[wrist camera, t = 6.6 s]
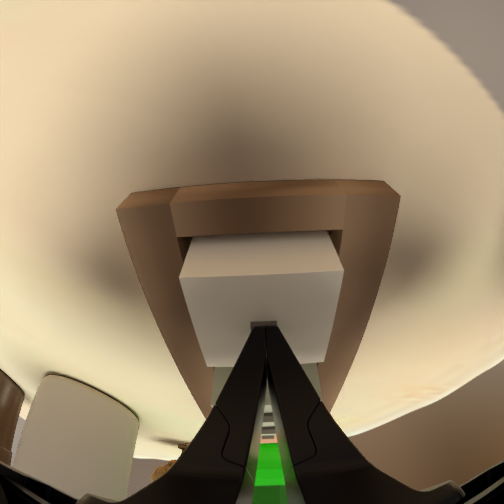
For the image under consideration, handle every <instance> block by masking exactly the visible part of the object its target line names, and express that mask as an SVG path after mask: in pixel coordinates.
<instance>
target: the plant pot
mask: <svg viewBox="0 0 504 504" xmlns="http://www.w3.org/2000/svg"><path fill="white" fill-rule="evenodd" d="M23 400H24V394H23V393H22V391H21V390H20V388H19V387H18V386H17V385H16V384H15V383H14V382H13V381H12V380H11V379H10V378H9V377H8V376H7V375H6V374H4V373H3V372H2V371H1V370H0V461H2V462H4V463H5V464H7V465H9V466H10V463H11V458H12V452H11V448H12V443H13V438H14V433H15V429H16V425H17V421H18V417H19V413H20V410H21V407H22V403H23Z"/></svg>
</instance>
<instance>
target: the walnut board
mask: <svg viewBox="0 0 504 504" xmlns="http://www.w3.org/2000/svg"><path fill="white" fill-rule="evenodd" d="M399 202H400V195H399V194H398V193H397V192H396V191H395V190H393V189H392V188H391V187H390V186H389V185H388V184H387V183H385V182H384V181H370V180H282V181H257V182H239V183H224V184H211V185H199V186H188V187H179V188H169V189H160V190H152V191H144V192H137V193H131V194H130V195H129V196H128V197H127V198H126V199H125V200H124V201H123V203H122V204H121V205H120V206H119V207H118V208H117V209H116V211H117V215H118V218H119V222H120V225H121V228H122V232H123V235H124V238H125V241H126V244H127V247H128V250H129V253H130V256H131V259H132V262H133V264H134V267H135V270H136V273H137V275H138V278H139V281H140V283H141V286H142V289H143V291H144V294H145V296H146V299H147V301H148V304H149V306H150V308H151V311H152V313H153V316H154V318H155V320H156V323H157V325H158V327H159V329H160V332H161V334H162V336H163V338H164V340H165V342H166V345H167V347H168V349H169V351H170V353H171V355H172V357H173V359H174V361H175V363H176V365H177V367H178V369H179V371H180V373H181V375H182V377H183V379H184V381H185V383H186V385H187V386H188V388H189V390H190V392H191V394H192V396H193V397H194V399H195V401H196V403H197V404H198V406H199V408H200V410H201V411H202V413H203V415H204V416H205V418H206V419H207V417H208V415H209V413H210V411H211V410H212V407H211V397H212V387H213V377H214V368H215V367H207V365H206V362H205V359H204V356H203V354H202V351H201V348H200V345H199V342H198V339H197V336H196V333H195V330H194V326H193V323H192V320H191V317H190V314H189V311H188V307H187V304H186V301H185V297H184V294H183V290H182V287H181V283H180V280H179V276H180V273H181V270H182V267H183V264H184V261H185V258H186V255H187V252H188V250H189V247H190V244H191V242H190V237H189V236H204V235H223V234H242V233H263V232H286V231H312V230H331V231H330V239H331V241H332V243H333V245H334V248H335V250H336V252H337V255H338V257H339V259H340V262H341V264H342V267H343V269H344V274H343V279H342V284H341V290H340V295H339V299H338V304H337V309H336V314H335V318H334V323H333V327H332V331H331V335H330V339H329V343H328V347H327V351H326V355H325V359H324V362H317V369H318V375H319V381H320V387H321V393H322V400H323V403H324V405H325V406H326V408H327V410H328V411H329V413H330V411H331V409H332V407H333V405H334V403H335V401H336V399H337V397H338V394H339V392H340V390H341V388H342V386H343V384H344V381H345V379H346V377H347V374H348V372H349V370H350V367H351V365H352V363H353V360H354V358H355V355H356V353H357V350H358V348H359V345H360V343H361V340H362V337H363V334H364V332H365V329H366V326H367V323H368V321H369V318H370V315H371V312H372V309H373V306H374V303H375V299H376V296H377V293H378V290H379V286H380V283H381V279H382V276H383V272H384V269H385V265H386V261H387V257H388V253H389V249H390V245H391V241H392V237H393V232H394V227H395V223H396V218H397V213H398V208H399Z"/></svg>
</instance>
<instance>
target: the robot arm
mask: <svg viewBox="0 0 504 504" xmlns="http://www.w3.org/2000/svg"><path fill="white" fill-rule="evenodd" d="M266 353H267V357H266ZM267 381H268V389H269V395H270V401H271V407H272V412H273V418H274V424H275V430H276V436H277V441H278V447H279V453H280V459H281V464H282V470H283V476H284V481H285V487H286V493H287V498H288V504H504V460H503V461H502V462H500V463H498V464H496V465H494V466H492V467H491V468H489V469H487V470H486V471H484V472H482V473H480V474H479V475H477V476H476V477H474V478H472V479H471V480H469V481H467V482H466V483H464V484H462V485H460V486H458V485H457V484H455V483H454V482H453V481H451V480H450V481H446V482H444V483H441V484H438V485H436V486H433V487H430V488H427V489H424V490H420V491H418V490H416V489H413V488H411V487H409V486H407V485H406V484H404V483H402V482H400V481H398V480H397V479H395V478H393V477H391V476H390V475H388V474H386V473H385V472H383V471H381V470H380V469H378V468H376V467H375V466H374V465H373V464H371V463H370V462H369V461H368V460H367V459H366V458H365V457H364V456H363V455H362V453H361V452H360V451H359V450H358V449H357V448H356V446H355V445H354V444H353V443H352V442H351V441H350V439H349V438H348V437H347V436H346V435H345V433H344V432H343V431H342V430H341V428H340V427H339V426H338V424H337V423H336V422H335V420H334V419H333V417H332V416H331V414H330V413H329V411H328V410H327V408H326V406H325V405H324V403H323V401H321V398H320V397H319V395H318V393H317V392H316V390H315V388H314V387H313V385H312V383H311V382H310V380H309V378H308V376H307V375H306V373H305V371H304V370H303V368H302V366H301V365H300V363H299V361H298V360H297V358H296V356H295V354H294V353H293V351H292V349H291V348H290V346H289V344H288V342H287V341H286V339H285V337H284V336H283V334H282V332H281V330H280V329H279V327H278V326H277V325H272V326H266V328H265V326H254V327H253V328H252V330H251V332H250V334H249V337H248V339H247V341H246V343H245V345H244V347H243V349H242V351H241V353H240V355H239V357H238V359H237V361H236V363H235V365H234V367H233V369H232V371H231V373H230V375H229V377H228V379H227V381H226V383H225V385H224V387H223V389H222V391H221V393H220V394H219V396H218V398H217V400H216V402H215V405H214V406H213V408H212V410H211V411H210V413H209V415H208V417H207V419H206V420H205V422H204V424H203V426H202V427H201V428H200V430H199V431H198V433H197V434H196V436H195V437H194V439H193V440H192V441H191V443H190V444H189V445H188V447H187V448H186V449H185V450H184V452H183V453H182V454H181V456H180V457H179V458H178V459H177V461H176V462H175V463H174V464H173V466H172V467H171V468H170V469H169V470H168V471H167V472H166V473H165V474H163V475H162V476H161V477H159V478H158V479H156V480H155V481H153V482H152V483H150V484H149V485H147V486H146V487H144V488H143V489H141V490H140V491H138V492H136V493H135V494H133V495H131V496H130V497H128V498H126V499H124V500H122V501H116V500H112V499H108V498H104V497H100V496H97V495H93V494H89V493H87V494H85V495H84V496H83V497H82V498H81V499H77V498H75V497H73V496H71V495H69V494H67V493H65V492H63V491H61V490H59V489H57V488H55V487H53V486H51V485H48V484H46V483H44V482H42V481H40V480H38V479H36V478H34V477H31V476H29V475H27V474H25V473H23V472H21V471H19V470H17V469H15V468H13V467H11V466H9V465H7V464H5V463H4V462H2V461H0V504H252V499H253V492H254V485H255V484H254V483H255V478H256V471H257V464H258V456H259V449H260V441H261V433H262V425H263V416H264V408H265V399H266V390H267Z"/></svg>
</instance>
